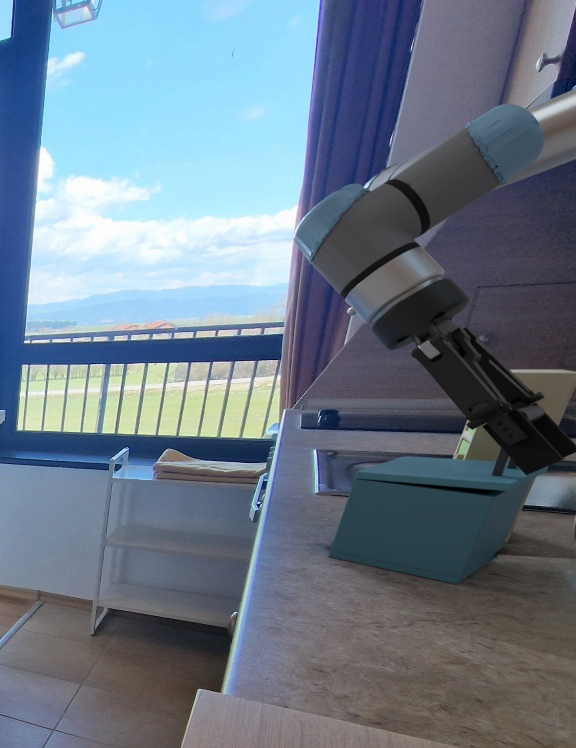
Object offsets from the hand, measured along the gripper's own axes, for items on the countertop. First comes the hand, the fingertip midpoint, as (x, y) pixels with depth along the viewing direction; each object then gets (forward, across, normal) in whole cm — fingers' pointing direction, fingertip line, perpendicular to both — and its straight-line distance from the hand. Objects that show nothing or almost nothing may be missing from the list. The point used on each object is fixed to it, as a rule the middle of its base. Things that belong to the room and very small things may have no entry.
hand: (553, 462), depth 66 cm
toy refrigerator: (+4, -14, -14) cm, 21 cm away
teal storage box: (+3, 0, -14) cm, 15 cm away
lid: (-3, 0, -7) cm, 8 cm away
